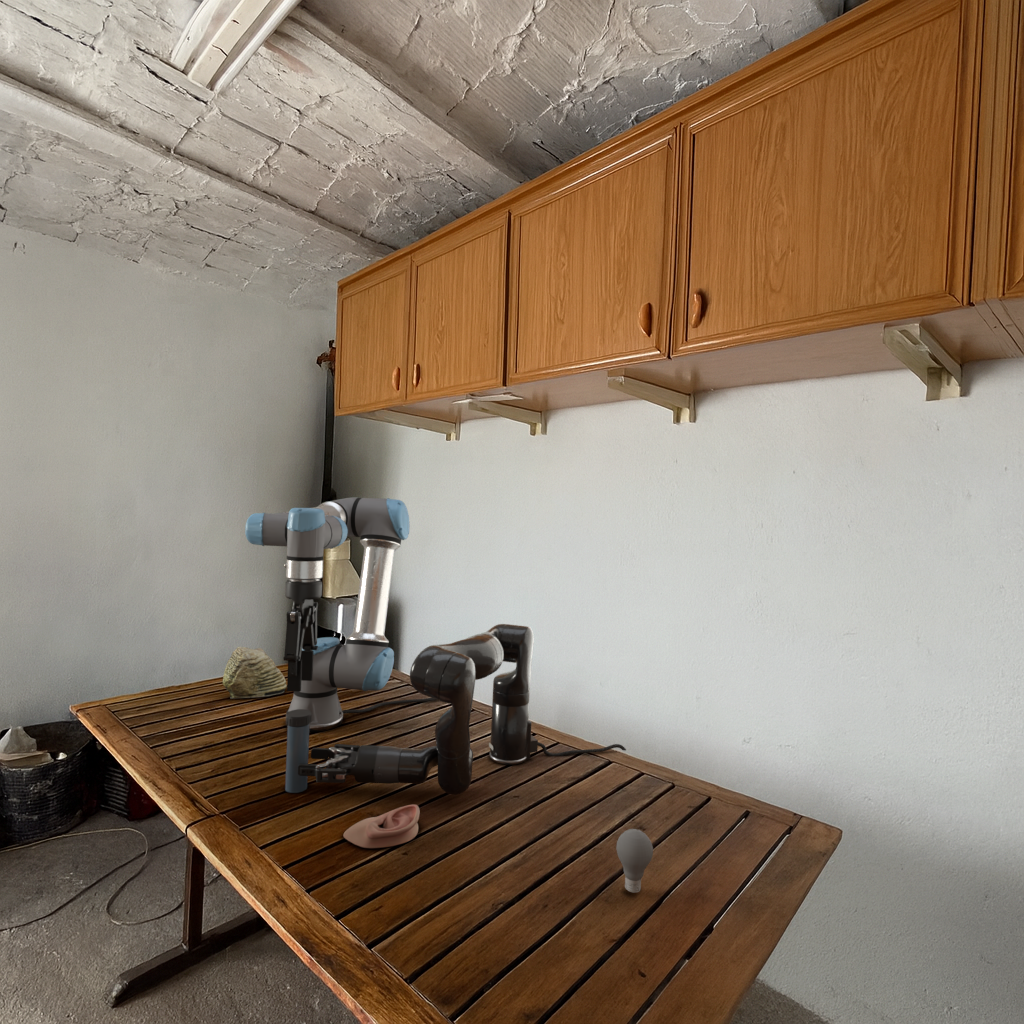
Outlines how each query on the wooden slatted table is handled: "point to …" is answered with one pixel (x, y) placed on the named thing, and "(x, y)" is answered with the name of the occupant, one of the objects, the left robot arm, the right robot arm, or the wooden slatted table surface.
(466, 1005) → the wooden slatted table surface
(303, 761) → the blue-grey cylindrical bottle
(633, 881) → the light bulb
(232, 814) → the wooden slatted table surface
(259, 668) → the fossil
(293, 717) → the lid
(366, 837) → the anatomical model
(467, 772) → the right robot arm
